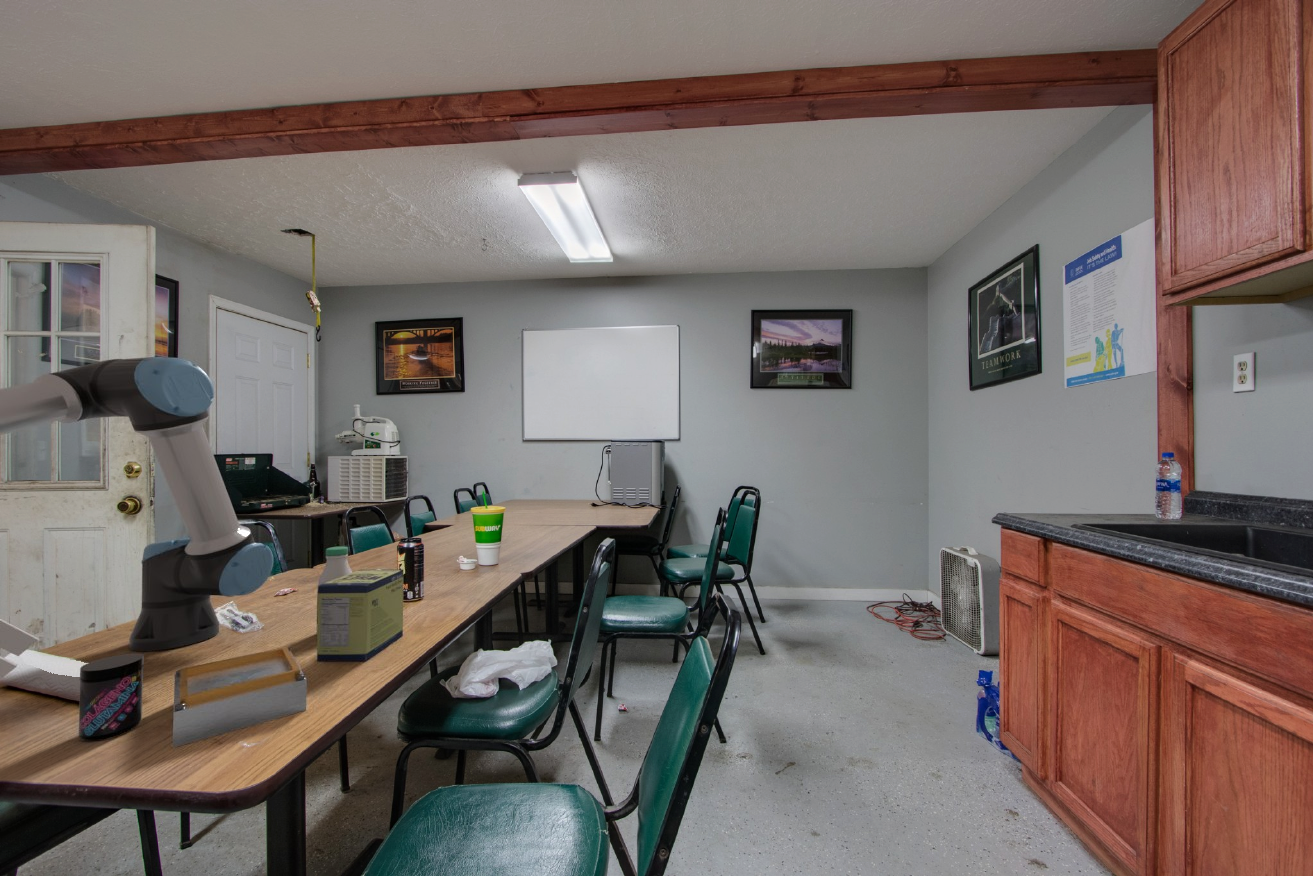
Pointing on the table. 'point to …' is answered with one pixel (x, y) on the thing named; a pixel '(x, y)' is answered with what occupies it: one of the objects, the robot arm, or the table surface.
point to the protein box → (359, 615)
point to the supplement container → (110, 696)
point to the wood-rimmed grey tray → (236, 694)
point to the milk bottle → (334, 566)
